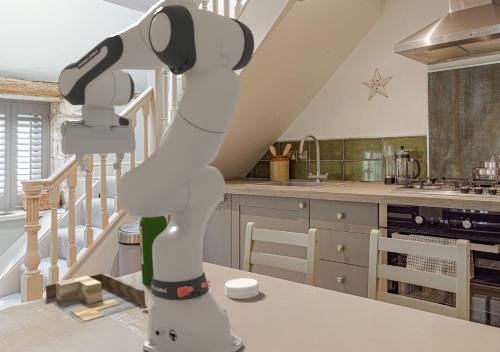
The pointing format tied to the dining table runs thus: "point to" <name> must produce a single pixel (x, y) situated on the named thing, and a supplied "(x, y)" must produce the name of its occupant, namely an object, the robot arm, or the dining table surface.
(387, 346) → the dining table surface
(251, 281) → the coaster
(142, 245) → the wine bottle
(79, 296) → the oak L block
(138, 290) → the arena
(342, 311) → the dining table surface
